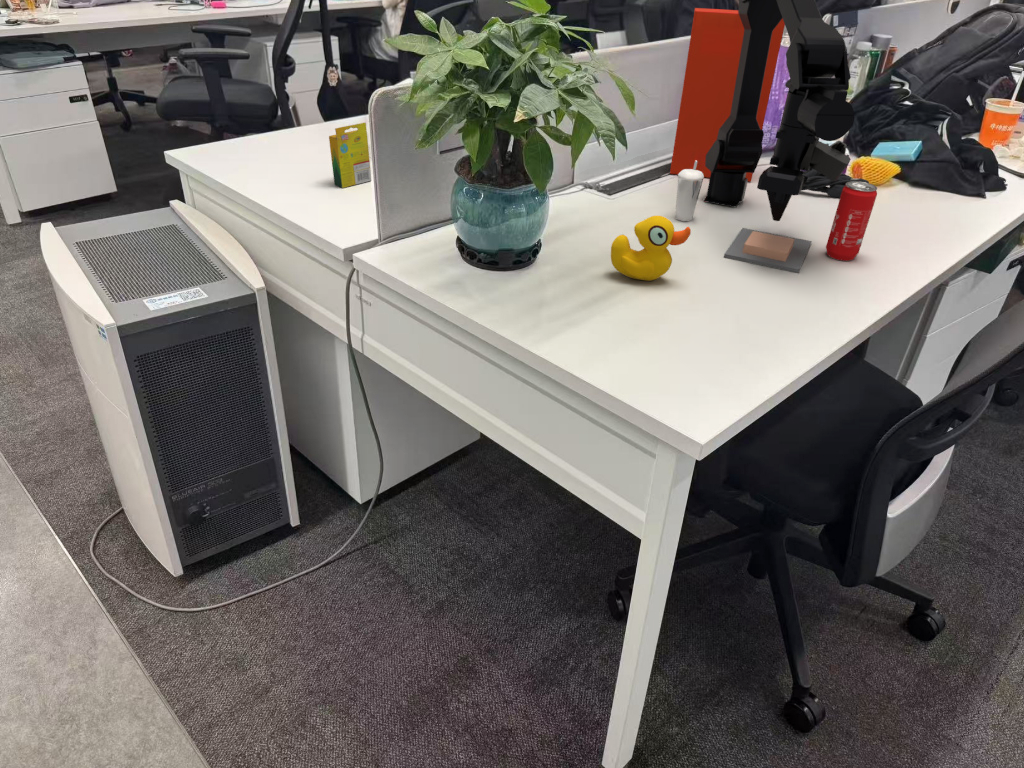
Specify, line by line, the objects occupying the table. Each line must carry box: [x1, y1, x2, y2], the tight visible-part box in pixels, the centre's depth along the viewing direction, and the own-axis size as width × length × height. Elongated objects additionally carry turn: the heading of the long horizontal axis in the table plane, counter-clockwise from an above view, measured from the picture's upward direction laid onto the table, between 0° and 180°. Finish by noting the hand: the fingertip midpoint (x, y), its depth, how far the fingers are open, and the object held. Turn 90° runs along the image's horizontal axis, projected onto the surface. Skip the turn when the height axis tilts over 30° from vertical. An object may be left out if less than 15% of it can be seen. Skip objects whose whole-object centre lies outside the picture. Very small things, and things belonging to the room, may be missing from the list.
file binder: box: [669, 7, 786, 183], centre depth 150 cm, size 8×17×32 cm, turn 77°
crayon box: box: [328, 122, 372, 189], centre depth 142 cm, size 7×3×12 cm, turn 136°
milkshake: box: [674, 161, 705, 222], centre depth 132 cm, size 4×5×10 cm
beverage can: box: [825, 181, 878, 262], centre depth 118 cm, size 5×5×12 cm
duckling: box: [610, 215, 692, 282], centre depth 109 cm, size 11×5×10 cm, turn 78°
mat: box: [723, 227, 812, 274], centre depth 122 cm, size 12×14×1 cm
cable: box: [801, 169, 870, 199], centre depth 152 cm, size 17×14×4 cm
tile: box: [742, 231, 795, 262], centre depth 121 cm, size 7×2×7 cm
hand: (776, 220), depth 120 cm, fingers closed
